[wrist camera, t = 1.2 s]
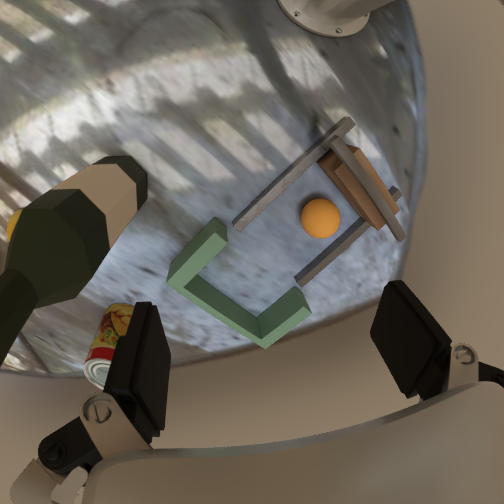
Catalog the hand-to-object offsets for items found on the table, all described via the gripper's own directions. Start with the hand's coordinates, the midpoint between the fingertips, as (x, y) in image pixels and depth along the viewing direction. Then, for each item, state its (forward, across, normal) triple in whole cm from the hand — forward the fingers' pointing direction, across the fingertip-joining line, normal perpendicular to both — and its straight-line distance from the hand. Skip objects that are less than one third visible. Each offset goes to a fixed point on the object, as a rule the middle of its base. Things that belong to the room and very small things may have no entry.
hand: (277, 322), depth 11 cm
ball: (+23, -10, +5) cm, 25 cm away
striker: (+25, -15, +1) cm, 29 cm away
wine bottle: (+25, +15, 0) cm, 29 cm away
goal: (+25, 0, +15) cm, 29 cm away
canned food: (+25, +19, +22) cm, 38 cm away
